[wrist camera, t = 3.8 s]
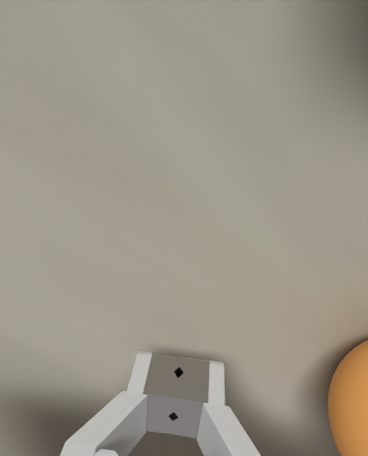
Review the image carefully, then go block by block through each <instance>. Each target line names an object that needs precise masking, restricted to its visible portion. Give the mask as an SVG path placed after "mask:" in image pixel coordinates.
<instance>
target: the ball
mask: <svg viewBox="0 0 368 456" xmlns="http://www.w3.org/2000/svg"><path fill="white" fill-rule="evenodd" d="M328 415H329V423H330V428H331V432H332V435H333V438H334V441H335V444H336V446H337V449H338V451H339V453H340V455H341V456H368V340H367V341H365V342H363V343H361V344H359V345H358V346H356V347H355V348H354V349H352V350H351V351H350V352H349V353H348V354H347V355H346V356H345V357H344V358H343V360H342V361H341V362H340V364H339V365H338V367H337V369H336V371H335V373H334V375H333V377H332V380H331V384H330V388H329V394H328Z"/></svg>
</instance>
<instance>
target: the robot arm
mask: <svg viewBox="0 0 368 456" xmlns="http://www.w3.org/2000/svg"><path fill="white" fill-rule="evenodd" d="M146 431H150V432H158V433H167V434H174V435H179V436H185V437H190V438H196V439H197V442H198V444H199V446H200V449H201V451H202V453H203V456H261V455H260V453H259V452H258V450H257V449H256V447H255V446H254V444H253V442H252V441H251V439H250V438H249V436H248V435H247V433H246V431H245V430H244V428H243V427H242V425H241V424H240V422H239V421H238V419H237V417H236V416H235V414H234V413H233V411H232V410H231V408H230V407H229V406H225V367H224V363H223V362H218V361H211V360H205V359H197V358H189V357H178V356H172V355H166V354H160V353H154V352H147V351H140V350H139V351H138V353H137V356H136V359H135V363H134V366H133V370H132V373H131V377H130V380H129V384H128V387H127V391H121V392H120V393H119V394H118V395H117V396H116V397H115V398H114V399H113V400H111V401H110V402H109V403H108V404H107V405H106V406H105V407H104V408H103V409H101V410H100V411H99V412H98V413H97V414H96V415H95V416H94V417H93V418H91V419H90V420H89V421H88V422H87V423H86V424H85V425H84V426H82V427H81V428H80V429H79V430H78V431H77V432H76V433H75V434H74V435H72V436H71V437H70V438H69V439H68V440H67V441H66V442H65V444H64V447H63V449H62V452H61V454H60V456H128V455H129V453H130V452H131V451H132V450H133V448H134V447H135V446H136V445H137V443H138V442H139V441H140V440H141V438H142V437H143V436H144V435H145V433H146Z"/></svg>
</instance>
